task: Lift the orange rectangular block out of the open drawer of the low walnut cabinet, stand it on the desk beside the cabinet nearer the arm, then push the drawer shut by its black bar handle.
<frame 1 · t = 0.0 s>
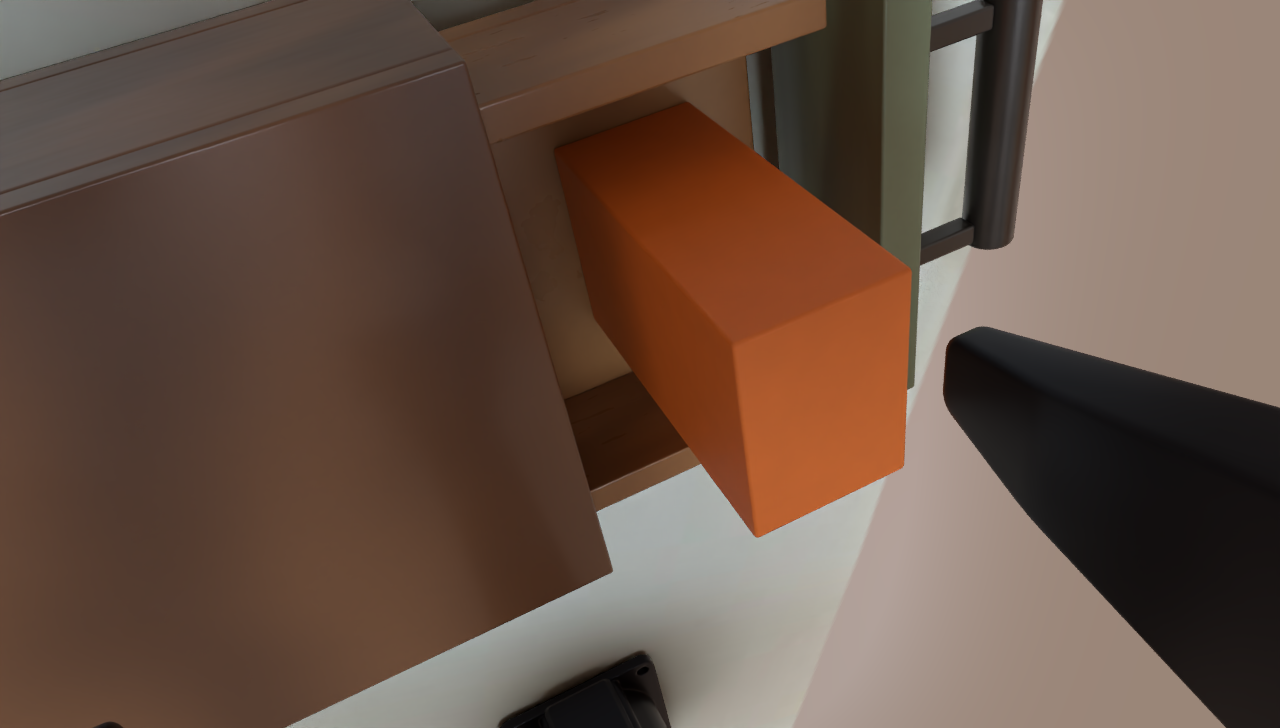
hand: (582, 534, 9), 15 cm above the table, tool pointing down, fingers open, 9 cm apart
orange rectangular block: (638, 215, 23), point 2 cm above the table, touching drawer
drawer: (688, 227, 22), point 3 cm above the table, slide at 8.5 cm, touching orange rectangular block
cabinet: (164, 349, 22), on the table
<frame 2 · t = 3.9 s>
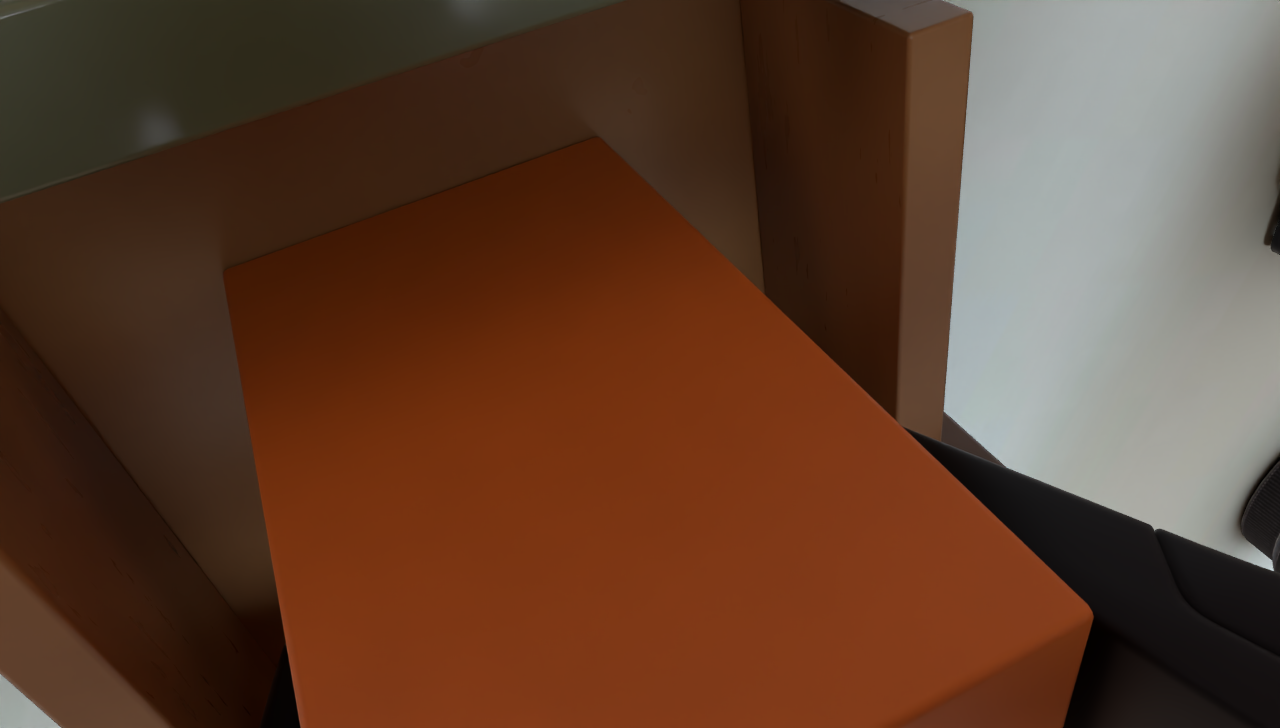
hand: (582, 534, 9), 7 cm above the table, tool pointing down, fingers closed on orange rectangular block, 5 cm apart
orange rectangular block: (458, 307, 13), point 2 cm above the table, touching drawer, gripper
drawer: (469, 312, 11), point 3 cm above the table, slide at 8.5 cm, touching orange rectangular block
cabinet: (577, 658, 22), on the table
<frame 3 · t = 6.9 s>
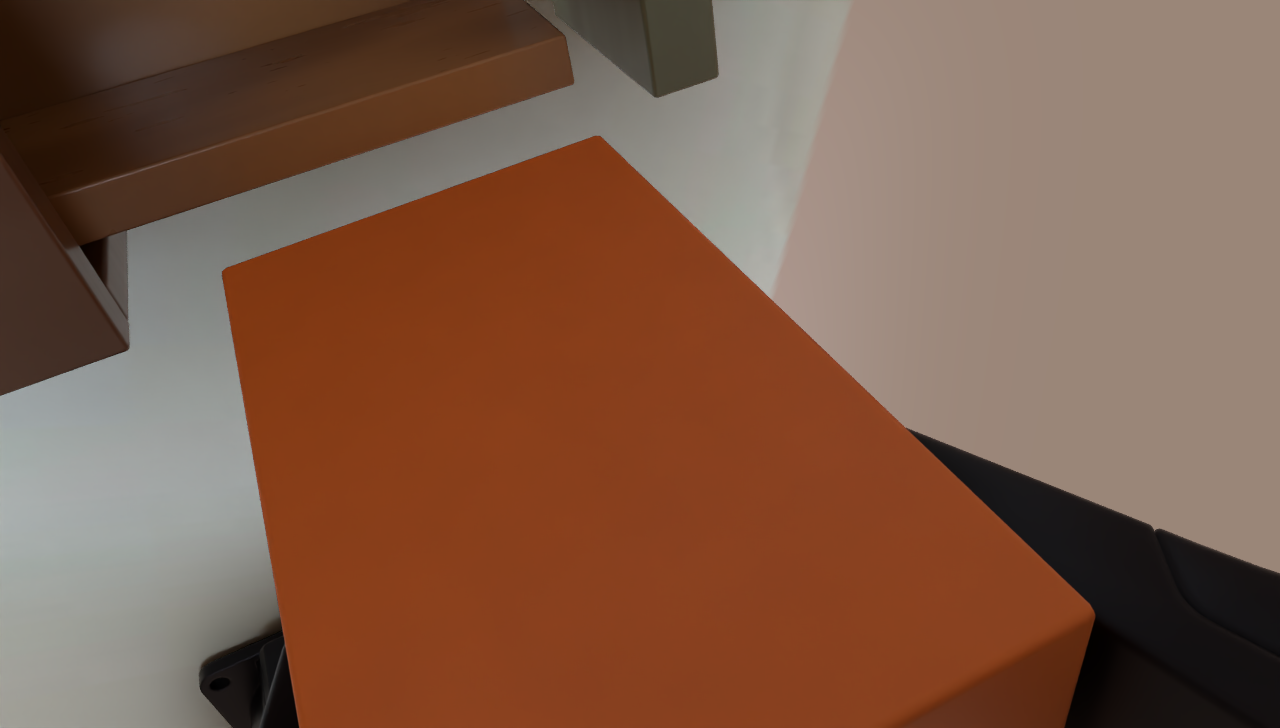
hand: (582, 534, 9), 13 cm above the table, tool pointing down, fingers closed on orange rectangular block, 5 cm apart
orange rectangular block: (457, 306, 13), point 8 cm above the table, touching gripper
when the fingers open (4 cm above the table, at t = 10.1 s): orange rectangular block stays where it is, on the table.
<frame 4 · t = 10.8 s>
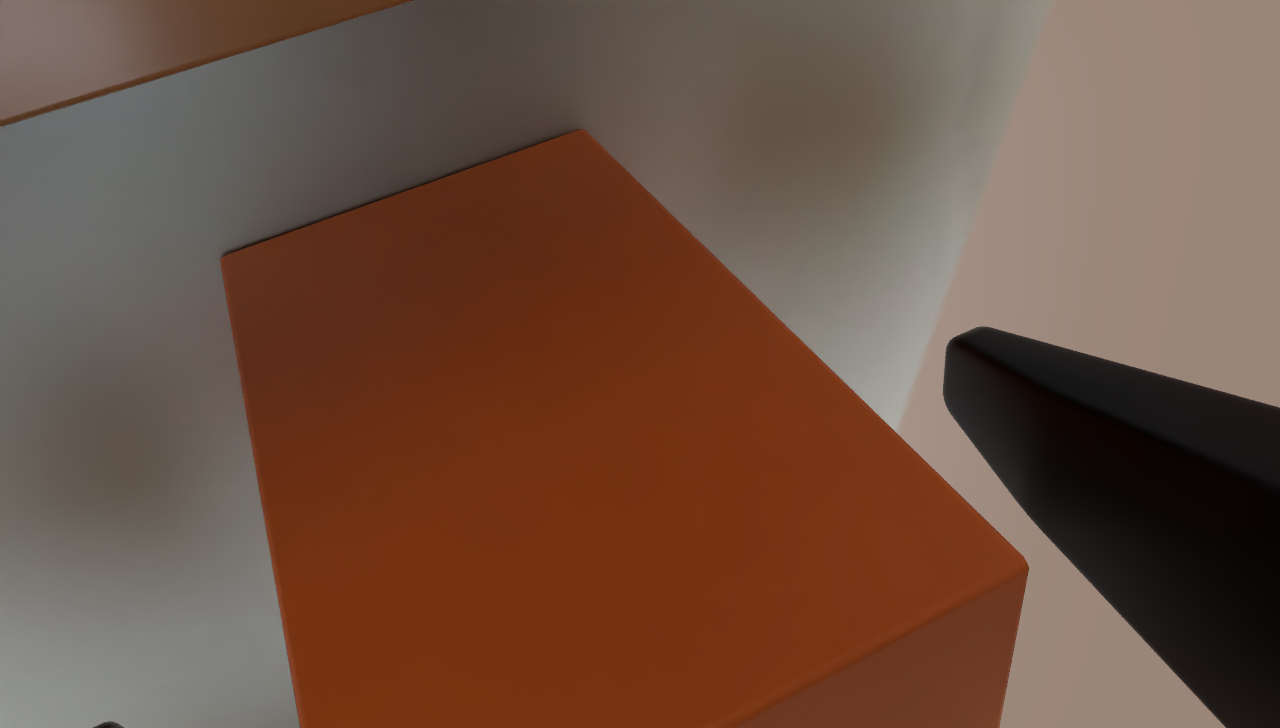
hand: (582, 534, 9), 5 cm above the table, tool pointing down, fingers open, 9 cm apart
orange rectangular block: (447, 294, 13), on the table
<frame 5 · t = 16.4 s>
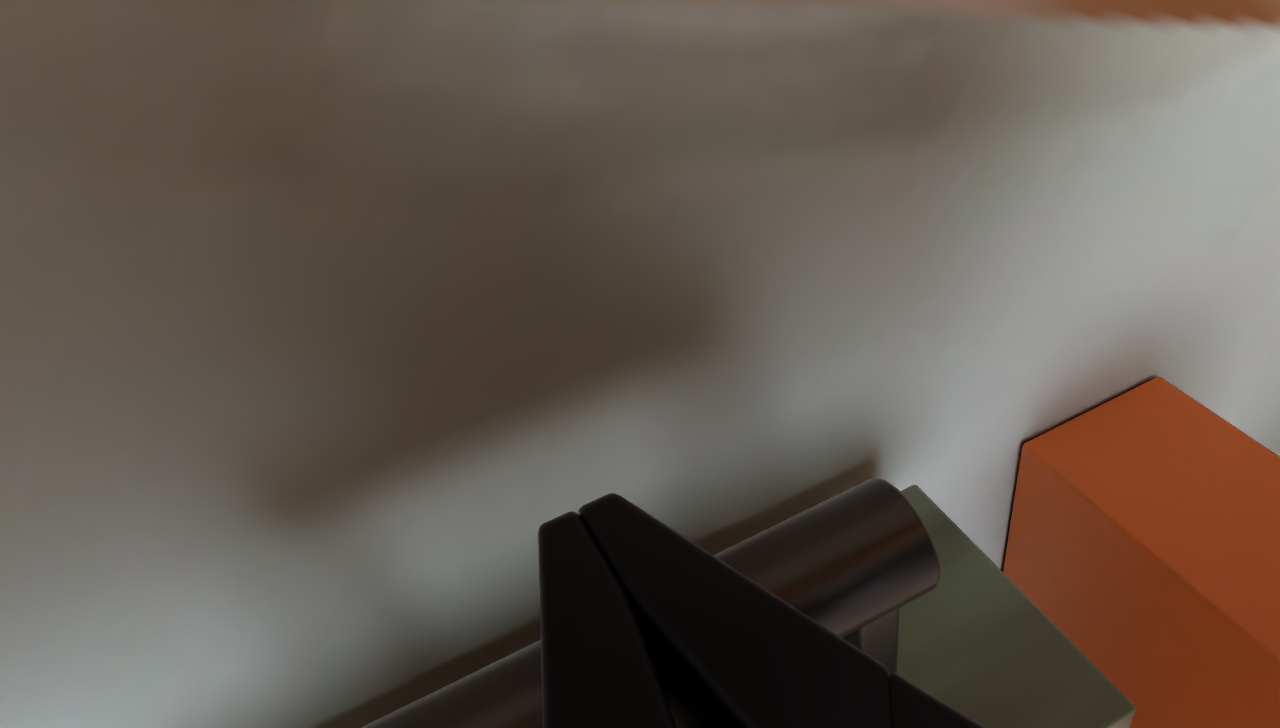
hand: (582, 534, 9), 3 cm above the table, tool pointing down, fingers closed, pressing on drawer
orange rectangular block: (1073, 490, 20), on the table
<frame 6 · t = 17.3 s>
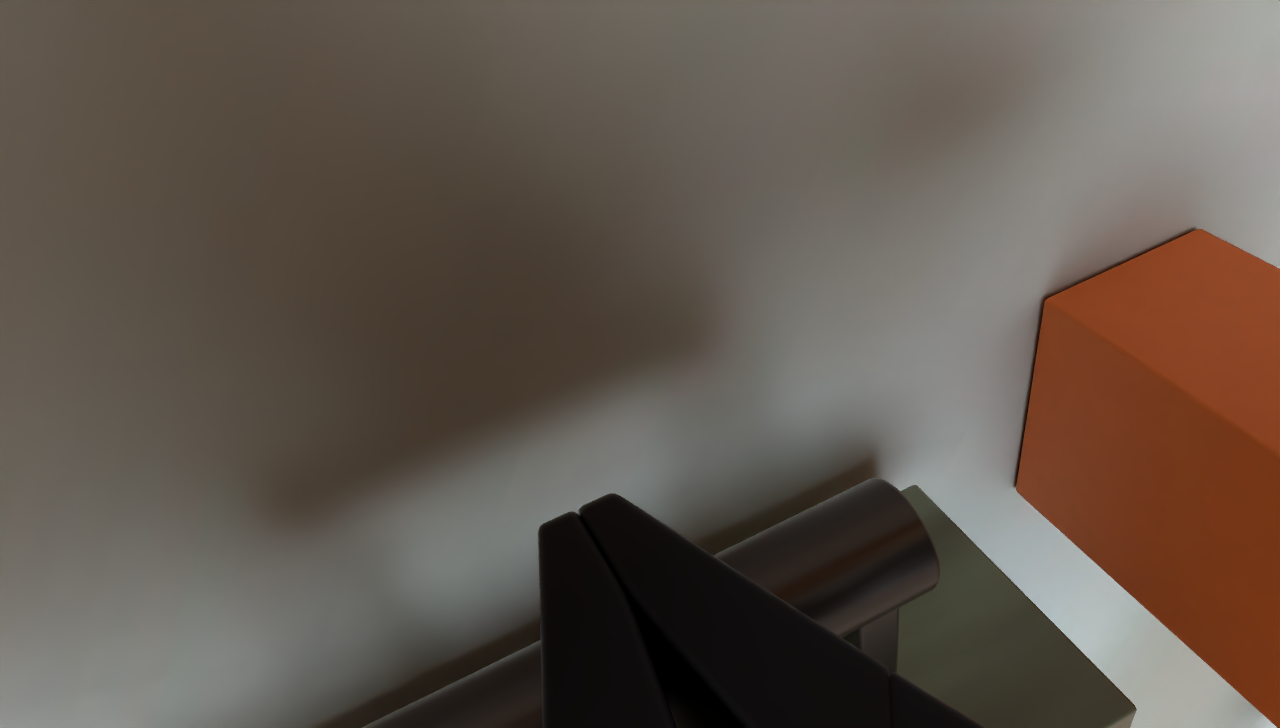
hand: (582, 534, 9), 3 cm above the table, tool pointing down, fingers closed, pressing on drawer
orange rectangular block: (1100, 367, 18), on the table
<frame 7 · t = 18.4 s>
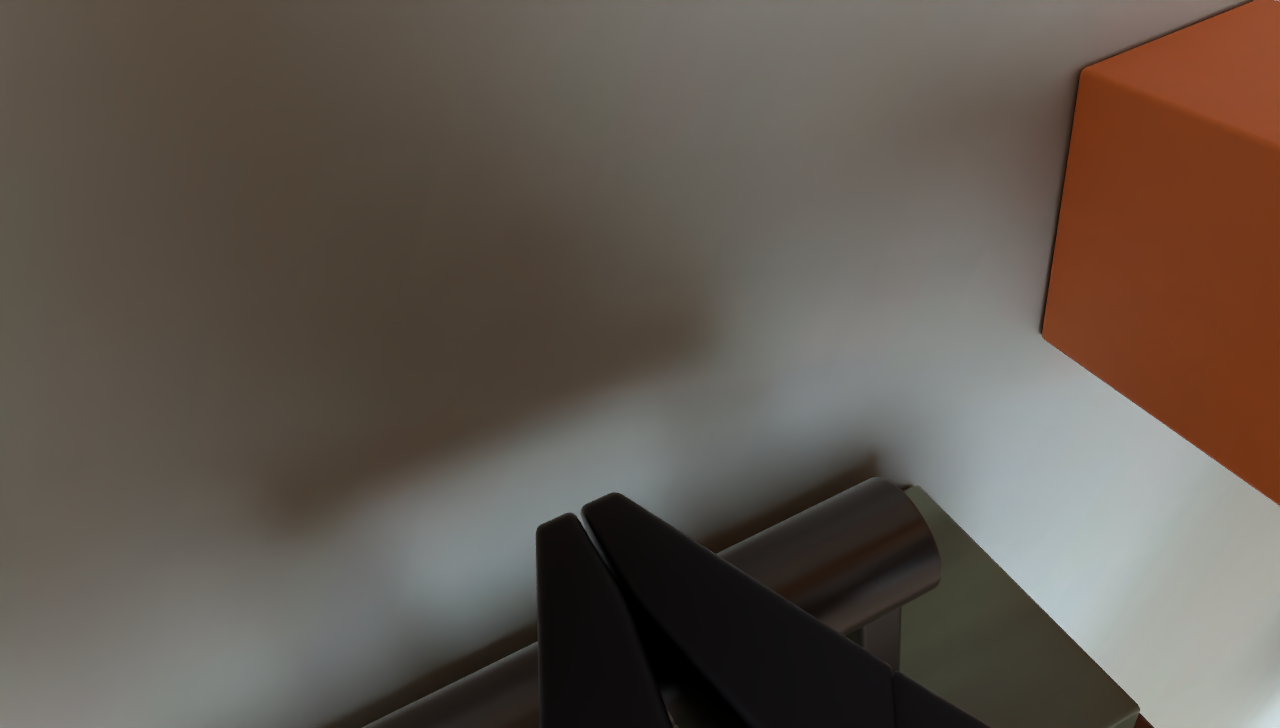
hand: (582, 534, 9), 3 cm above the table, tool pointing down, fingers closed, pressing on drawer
orange rectangular block: (1142, 180, 15), on the table
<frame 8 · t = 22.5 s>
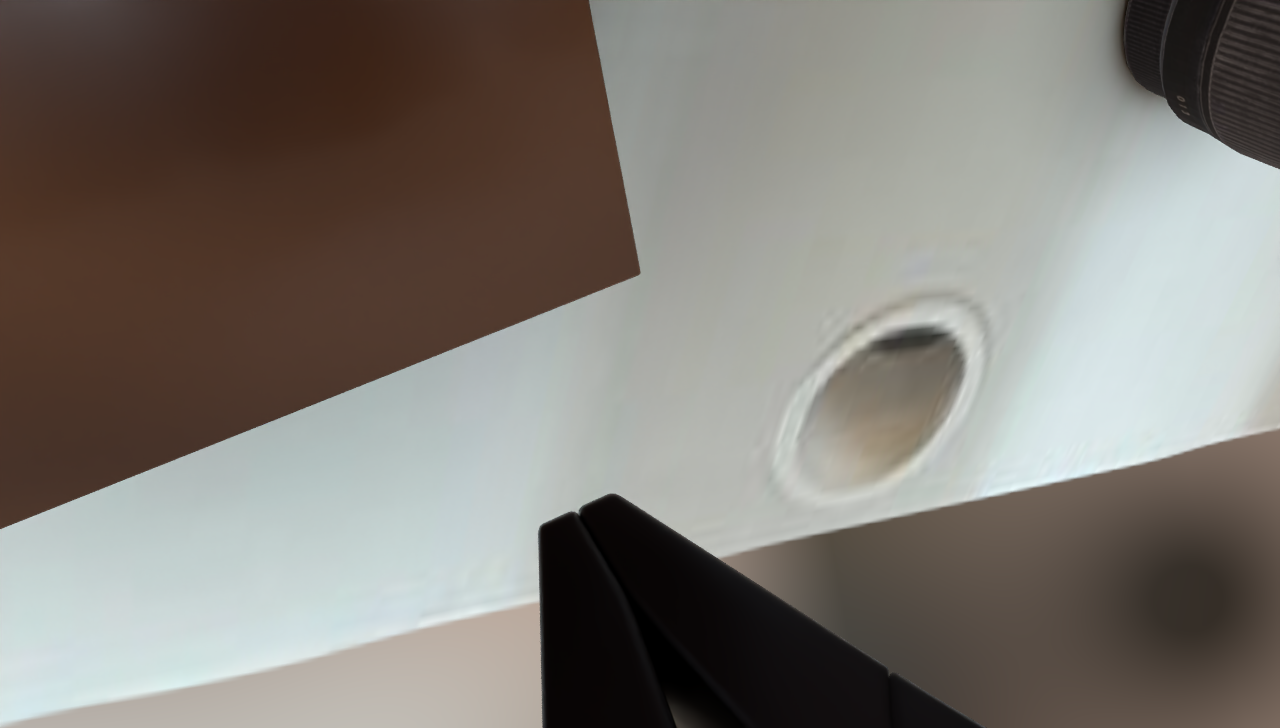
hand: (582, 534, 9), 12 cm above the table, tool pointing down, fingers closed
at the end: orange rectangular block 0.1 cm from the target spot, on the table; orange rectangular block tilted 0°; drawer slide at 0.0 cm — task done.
